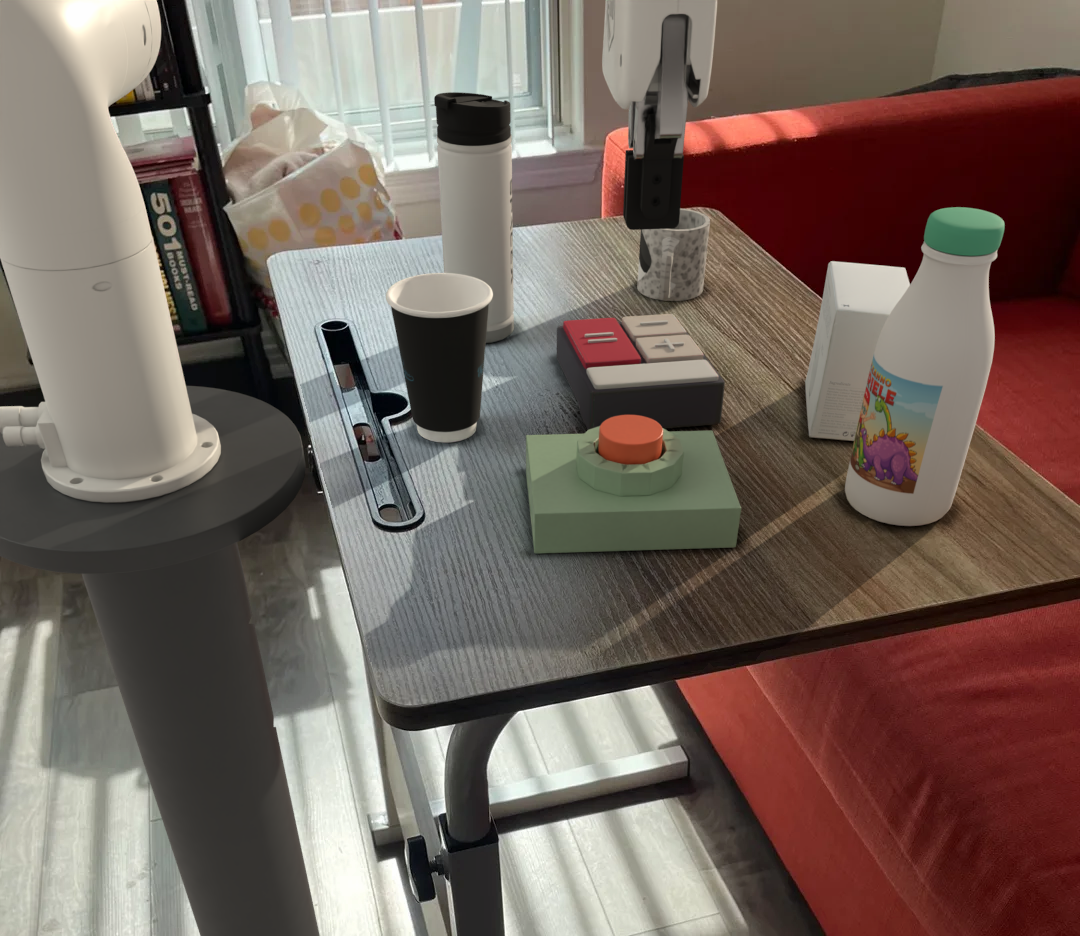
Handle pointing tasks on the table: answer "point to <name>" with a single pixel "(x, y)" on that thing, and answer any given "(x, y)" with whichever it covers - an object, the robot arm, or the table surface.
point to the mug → (674, 258)
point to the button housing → (629, 496)
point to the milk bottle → (928, 376)
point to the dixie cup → (442, 350)
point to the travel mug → (478, 197)
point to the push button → (630, 439)
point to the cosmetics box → (848, 343)
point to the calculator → (639, 371)
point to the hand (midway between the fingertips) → (650, 224)
